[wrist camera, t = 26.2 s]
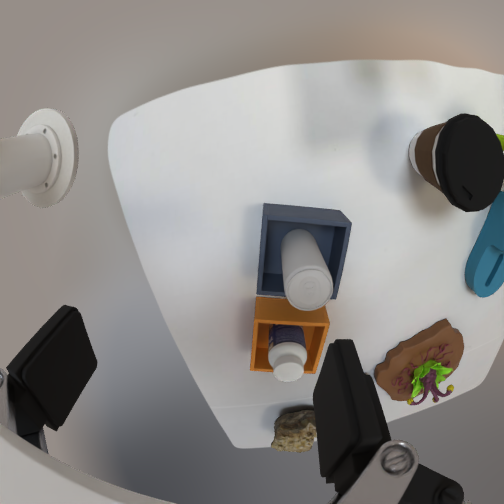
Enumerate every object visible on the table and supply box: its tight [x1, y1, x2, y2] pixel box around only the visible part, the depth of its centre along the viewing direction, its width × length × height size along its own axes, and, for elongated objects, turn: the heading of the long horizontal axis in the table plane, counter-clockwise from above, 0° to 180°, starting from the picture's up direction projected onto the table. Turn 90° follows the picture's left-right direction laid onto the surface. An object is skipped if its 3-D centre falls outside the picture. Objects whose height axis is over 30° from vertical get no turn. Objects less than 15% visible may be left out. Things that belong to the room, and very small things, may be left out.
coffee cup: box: [409, 114, 504, 212], centre depth 25 cm, size 11×11×12 cm
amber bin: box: [250, 297, 330, 374], centre depth 40 cm, size 10×10×6 cm
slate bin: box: [256, 203, 352, 299], centre depth 35 cm, size 10×10×6 cm
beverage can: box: [281, 229, 333, 311], centre depth 31 cm, size 5×5×12 cm
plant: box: [374, 319, 464, 405], centre depth 40 cm, size 20×20×11 cm
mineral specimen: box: [271, 410, 317, 452], centre depth 49 cm, size 14×13×10 cm
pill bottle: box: [268, 324, 307, 382], centre depth 38 cm, size 5×5×10 cm
